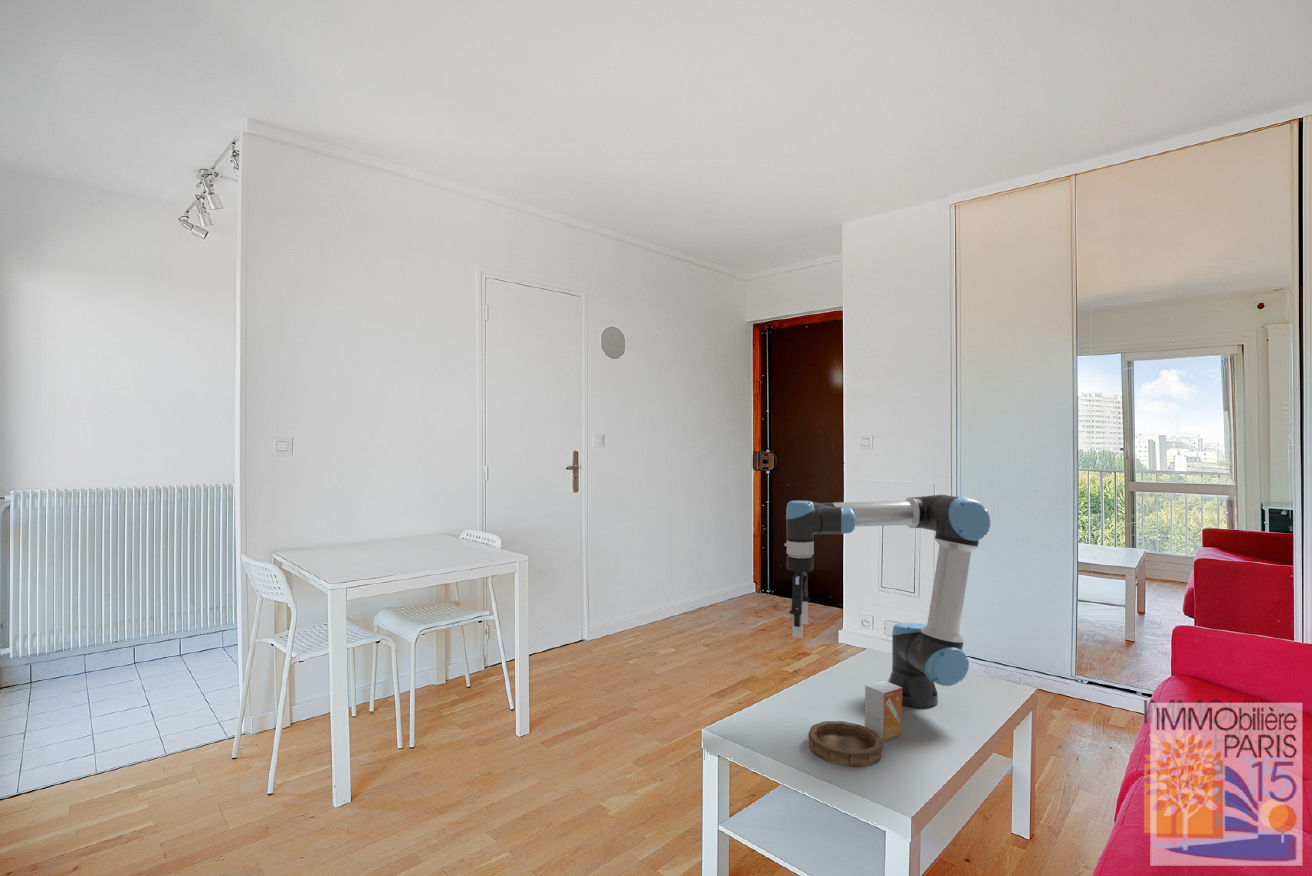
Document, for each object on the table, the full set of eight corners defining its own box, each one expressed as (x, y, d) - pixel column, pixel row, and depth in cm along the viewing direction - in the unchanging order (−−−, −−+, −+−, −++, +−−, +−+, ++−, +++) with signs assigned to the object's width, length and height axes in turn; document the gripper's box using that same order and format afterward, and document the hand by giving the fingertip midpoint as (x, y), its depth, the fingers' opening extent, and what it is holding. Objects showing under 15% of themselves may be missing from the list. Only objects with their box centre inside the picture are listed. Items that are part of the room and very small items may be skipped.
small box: (883, 742, 169) (884, 693, 169) (863, 732, 174) (864, 685, 174) (902, 734, 173) (902, 687, 173) (882, 725, 178) (883, 679, 178)
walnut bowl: (863, 732, 174) (864, 720, 174) (894, 765, 156) (894, 752, 156) (800, 734, 172) (800, 722, 172) (823, 768, 154) (823, 754, 154)
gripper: (792, 547, 192) (792, 617, 192) (780, 562, 168) (780, 642, 168) (817, 549, 189) (817, 619, 189) (809, 564, 166) (809, 645, 166)
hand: (800, 630), depth 179 cm, fingers open, 13 cm apart
